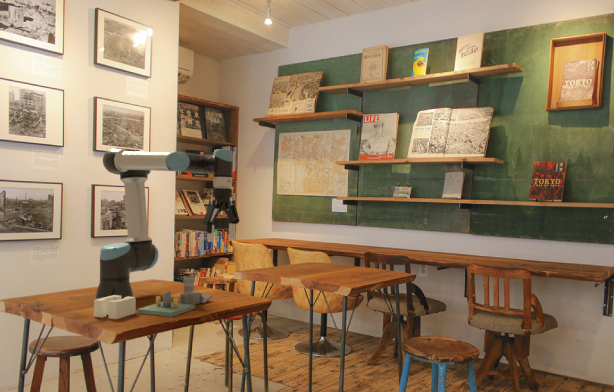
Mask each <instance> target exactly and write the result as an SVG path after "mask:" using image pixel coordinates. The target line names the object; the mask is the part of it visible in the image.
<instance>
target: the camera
mask: <svg viewBox="0 0 614 392" xmlns="http://www.w3.org/2000/svg"><path fill="white" fill-rule="evenodd" d="M182 277H183V281H182V283H183V293H181V294H180V295H179V303H182V304H193V305H195V306H198V305H200V304H206V303H207V302H208V301H209V300H210V299H212V298H213V295H212V294H204V293H203V292H200V291H194V283H195V276H194V275H184V276H182ZM197 304H198V305H197Z"/></svg>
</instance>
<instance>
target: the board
mask: <svg viewBox="0 0 614 392" xmlns="http://www.w3.org/2000/svg"><path fill="white" fill-rule="evenodd" d="M195 309H196V305H193V304H182V303H180V302H179V298H178V297H174V298H173V301H172V291H164V292H162V301H161V296H159V295H158V296H155V303H153V304H150V305H146V306H143V307H139V308H137V314H141V315H142V314H143V315H153V316H160V317H168V318H169V317H170V318H172V317H175V316H178V315H180V314H183V313H186V312H189V311H192V310H195Z"/></svg>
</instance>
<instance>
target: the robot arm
mask: <svg viewBox="0 0 614 392" xmlns="http://www.w3.org/2000/svg"><path fill="white" fill-rule="evenodd" d="M233 154H234V153H233V152H232V150H230V149H224V148H223V149H222V148H218V149H214V152H213V154H198V153H192V152H191V153H190V152H185V151H184V152H183V151H181V150H180V151H179V150H178V151H143V150H140V149H133V148H132V149H131V148H123V147H112V148H109V149H108V150H106V152H105V153H104V155H103V157H102V164H103V167H104V168H105V169H106V171H107V172H108V173H111V174H114V175H119V178H120V179H119V180H120V181H121V182H122V183H123V185H124V198H125V200H124V201H125V214H126V215H125V217H126V231H127V232H126V234H127V237H126V239H125V240H124V242H114V243H109V244H106V245H103V246H102V247H100V251H99V252H100V253H99V283H98V287H97V289H96V293H95V295H94V300H96V299H100V298H104V297H108V296H112V295H119V296H122V299H124V297H128V296H129V297H135V295H134V292H133V287H132V285H131V282H130V281H131V280H130V277H131V276H130V274H131V273H135V272H143V271H147V270H150V269H152V268H153V267H155V265H156V264H157V262H158V260H159V250H158V248H157V247H156V245H155V244H154V243H153V239H152V238H151V237H150V236H149V232H148V231H149V230H148V228H149V227H148V216H147V215H148V212H147V202H146V201H147V200H146V186H145V185H146V184H145V183H146V182H147V180H148V179H149V178H148V176H149V175H150V174H151V171H155V172H156V171H159V172H160V171H161V172H163V171H164V172H184V173H192V174H199V175H200V174H213V177H212V178H213V179H212V180H213V182H212V187H213V190H212V196H213V198H214V199H209V200H208V207H207V209H206V212H205V215H204V217H203V220H202V223H203V224H204V225H206V233H207V240H206V241H207V242H209V243H214V242H215V224H214V223H215V221H216V219H217V218H218V216H219V213H221V212H224V213H225V214H226V215H225V216H226V217H227V218H228V220H229V222H230V223H228V240H236V231H237V229H236V228H237V224H239V222H240V218H239V213H238V210H237V207H236V200H235V199H231V198H232V197H233V189H232V187H233V166H234V165H233V163H234V159H233Z"/></svg>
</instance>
